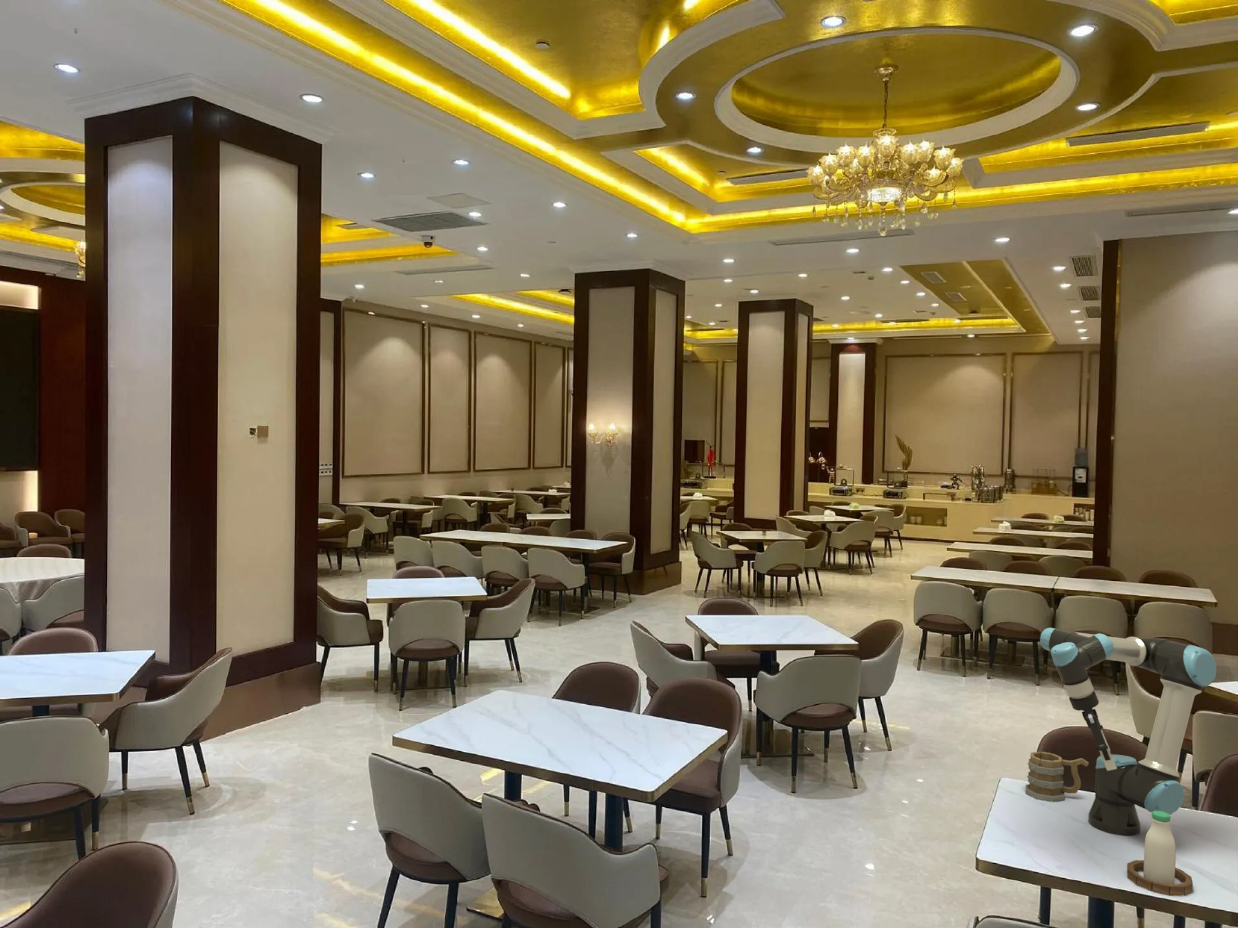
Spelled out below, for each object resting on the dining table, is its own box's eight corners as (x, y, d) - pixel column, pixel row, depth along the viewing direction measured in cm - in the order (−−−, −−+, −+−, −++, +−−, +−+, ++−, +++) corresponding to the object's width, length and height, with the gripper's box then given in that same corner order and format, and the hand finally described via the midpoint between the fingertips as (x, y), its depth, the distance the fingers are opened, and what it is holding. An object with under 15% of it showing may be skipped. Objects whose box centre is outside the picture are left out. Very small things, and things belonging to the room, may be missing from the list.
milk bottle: (1174, 891, 252) (1177, 820, 252) (1143, 883, 256) (1145, 814, 256) (1174, 880, 259) (1176, 811, 259) (1143, 872, 263) (1145, 805, 263)
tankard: (1025, 797, 319) (1027, 755, 319) (1025, 785, 331) (1026, 745, 331) (1088, 807, 311) (1090, 765, 311) (1086, 795, 323) (1087, 754, 322)
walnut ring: (1126, 863, 269) (1126, 855, 269) (1189, 876, 261) (1189, 868, 261) (1127, 885, 255) (1128, 877, 255) (1194, 900, 247) (1194, 891, 247)
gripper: (1064, 683, 284) (1090, 746, 283) (1072, 711, 261) (1101, 780, 260) (1089, 677, 281) (1115, 741, 280) (1099, 704, 258) (1128, 774, 257)
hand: (1108, 760), depth 270 cm, fingers open, 13 cm apart
